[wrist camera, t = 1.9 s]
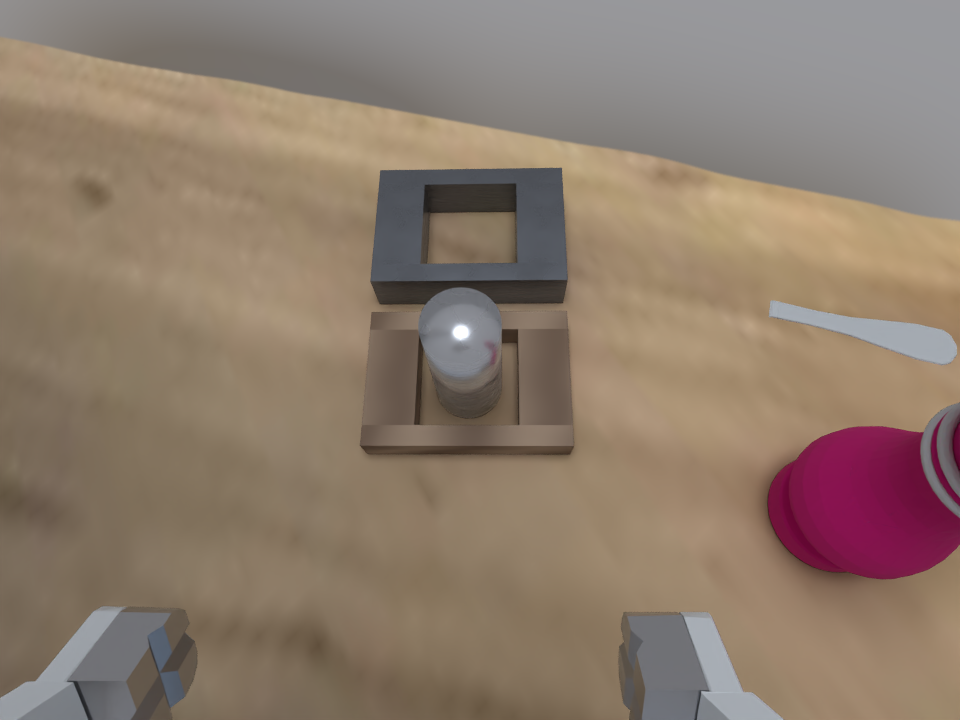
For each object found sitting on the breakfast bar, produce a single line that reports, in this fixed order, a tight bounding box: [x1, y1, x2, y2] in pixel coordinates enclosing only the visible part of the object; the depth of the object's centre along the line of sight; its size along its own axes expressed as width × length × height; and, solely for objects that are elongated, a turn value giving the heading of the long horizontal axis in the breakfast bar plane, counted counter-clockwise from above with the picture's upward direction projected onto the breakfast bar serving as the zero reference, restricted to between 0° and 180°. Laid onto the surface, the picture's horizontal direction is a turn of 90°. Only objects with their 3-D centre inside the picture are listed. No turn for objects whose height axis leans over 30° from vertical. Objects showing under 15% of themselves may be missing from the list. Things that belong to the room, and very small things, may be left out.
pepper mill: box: [768, 402, 960, 579], centre depth 24 cm, size 7×7×20 cm
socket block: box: [371, 168, 568, 304], centre depth 39 cm, size 12×8×3 cm
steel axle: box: [418, 287, 502, 418], centre depth 33 cm, size 4×4×9 cm
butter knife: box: [769, 301, 957, 365], centre depth 38 cm, size 1×24×3 cm
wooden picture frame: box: [360, 311, 574, 454], centre depth 36 cm, size 12×8×2 cm
